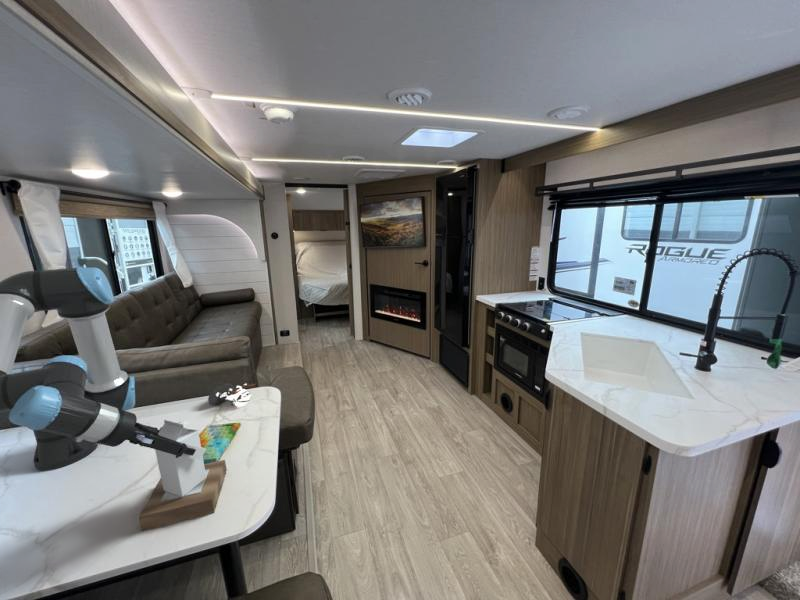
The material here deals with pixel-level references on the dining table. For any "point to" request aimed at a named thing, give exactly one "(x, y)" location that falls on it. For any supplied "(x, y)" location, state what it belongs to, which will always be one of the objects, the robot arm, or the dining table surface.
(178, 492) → the milk carton
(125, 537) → the dining table surface
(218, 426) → the puzzle game
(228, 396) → the figurine
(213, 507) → the walnut riser
